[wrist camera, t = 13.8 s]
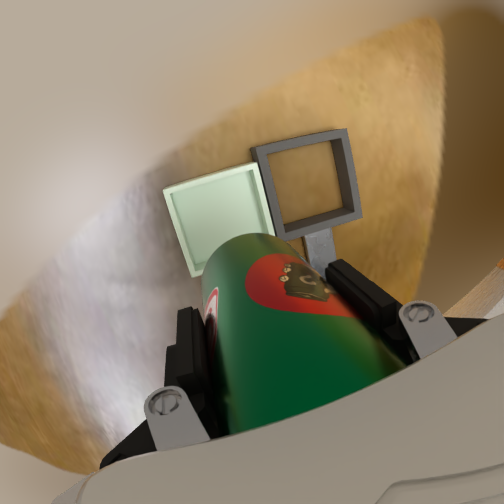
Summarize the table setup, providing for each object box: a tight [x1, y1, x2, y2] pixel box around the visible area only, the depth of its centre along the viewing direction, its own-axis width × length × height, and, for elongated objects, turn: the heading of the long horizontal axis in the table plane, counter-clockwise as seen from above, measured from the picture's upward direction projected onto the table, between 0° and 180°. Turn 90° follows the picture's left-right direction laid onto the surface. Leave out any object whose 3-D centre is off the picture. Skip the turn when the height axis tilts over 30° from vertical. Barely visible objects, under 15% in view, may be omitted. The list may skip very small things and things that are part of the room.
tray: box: [163, 162, 275, 278], centre depth 28 cm, size 8×8×2 cm
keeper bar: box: [443, 258, 504, 319], centre depth 19 cm, size 17×3×3 cm, turn 118°
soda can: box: [201, 233, 409, 437], centre depth 10 cm, size 5×5×12 cm
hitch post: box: [302, 228, 336, 280], centre depth 27 cm, size 9×4×14 cm, turn 15°
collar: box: [250, 128, 363, 242], centre depth 29 cm, size 9×9×2 cm
